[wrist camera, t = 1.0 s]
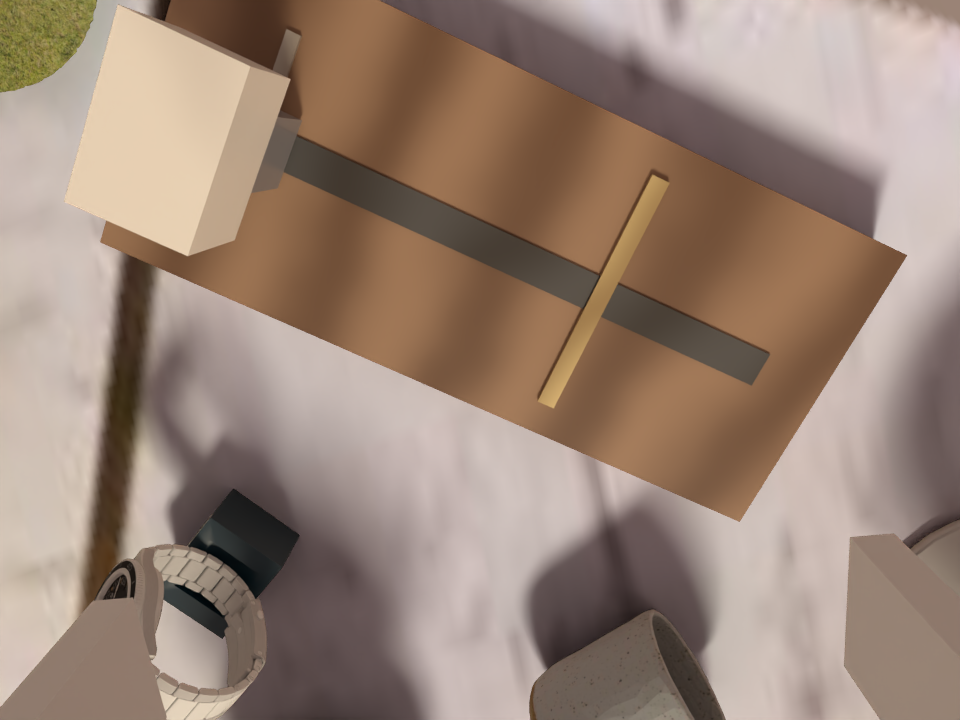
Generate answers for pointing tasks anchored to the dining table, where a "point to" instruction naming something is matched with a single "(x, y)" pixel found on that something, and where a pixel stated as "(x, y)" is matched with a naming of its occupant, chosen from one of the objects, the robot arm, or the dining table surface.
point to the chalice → (942, 554)
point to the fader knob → (179, 135)
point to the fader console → (531, 250)
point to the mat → (39, 38)
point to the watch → (209, 596)
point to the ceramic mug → (628, 678)
